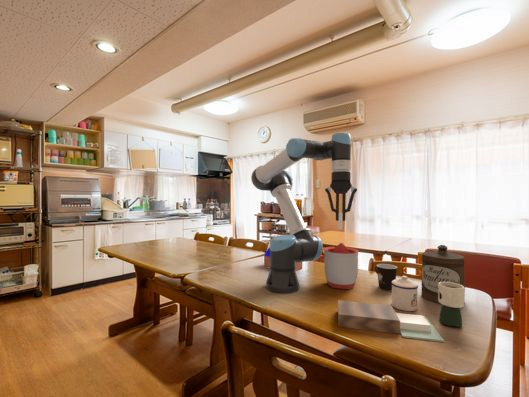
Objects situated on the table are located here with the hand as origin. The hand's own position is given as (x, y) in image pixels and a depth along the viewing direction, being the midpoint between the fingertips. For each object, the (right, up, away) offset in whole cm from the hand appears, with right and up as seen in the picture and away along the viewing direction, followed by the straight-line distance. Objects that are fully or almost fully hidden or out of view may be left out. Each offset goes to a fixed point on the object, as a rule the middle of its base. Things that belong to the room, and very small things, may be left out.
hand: (340, 228), depth 112 cm
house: (-21, -28, +46) cm, 58 cm away
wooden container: (+42, -29, 0) cm, 51 cm away
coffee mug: (+25, -29, +14) cm, 40 cm away
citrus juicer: (+5, -29, +17) cm, 33 cm away
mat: (+17, -29, -25) cm, 42 cm away
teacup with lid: (+23, -29, -7) cm, 37 cm away
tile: (+16, -28, -24) cm, 41 cm away
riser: (+3, -29, -21) cm, 36 cm away
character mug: (+30, -29, -23) cm, 47 cm away
